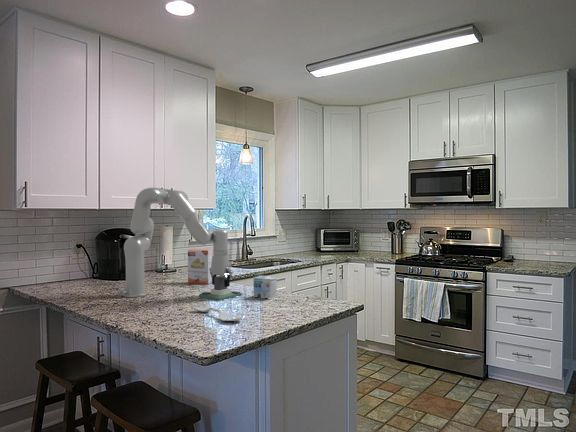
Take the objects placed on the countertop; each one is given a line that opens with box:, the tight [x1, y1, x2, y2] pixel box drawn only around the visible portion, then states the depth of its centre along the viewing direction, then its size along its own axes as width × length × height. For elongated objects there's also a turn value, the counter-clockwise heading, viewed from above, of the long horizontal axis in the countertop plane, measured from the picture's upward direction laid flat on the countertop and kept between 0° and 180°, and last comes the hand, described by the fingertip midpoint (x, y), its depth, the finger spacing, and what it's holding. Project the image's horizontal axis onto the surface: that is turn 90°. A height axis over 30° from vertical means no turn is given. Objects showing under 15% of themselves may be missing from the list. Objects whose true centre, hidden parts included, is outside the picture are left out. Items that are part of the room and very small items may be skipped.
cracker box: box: [187, 248, 213, 285], centre depth 268 cm, size 14×6×21 cm, turn 73°
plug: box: [213, 275, 228, 290], centre depth 231 cm, size 6×4×9 cm, turn 141°
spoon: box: [189, 301, 243, 322], centre depth 191 cm, size 9×32×4 cm, turn 42°
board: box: [198, 287, 243, 301], centre depth 231 cm, size 16×16×4 cm
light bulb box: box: [253, 275, 278, 299], centre depth 228 cm, size 11×7×11 cm, turn 62°
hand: (220, 285), depth 231 cm, fingers open, 9 cm apart
